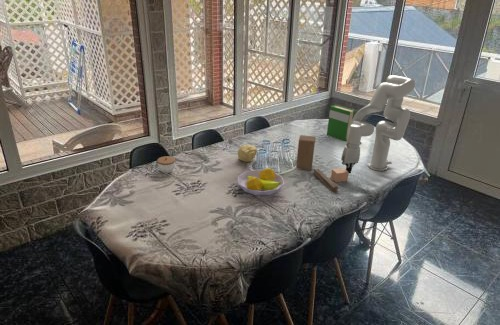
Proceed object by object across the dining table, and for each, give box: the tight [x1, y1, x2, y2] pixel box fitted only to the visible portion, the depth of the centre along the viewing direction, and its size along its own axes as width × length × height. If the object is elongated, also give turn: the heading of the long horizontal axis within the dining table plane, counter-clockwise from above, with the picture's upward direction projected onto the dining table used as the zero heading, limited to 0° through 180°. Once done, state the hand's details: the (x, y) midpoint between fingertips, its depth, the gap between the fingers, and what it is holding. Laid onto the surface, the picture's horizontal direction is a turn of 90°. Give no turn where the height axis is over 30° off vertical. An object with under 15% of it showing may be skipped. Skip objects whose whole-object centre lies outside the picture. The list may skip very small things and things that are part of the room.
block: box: [330, 167, 350, 183], centre depth 223 cm, size 8×6×6 cm
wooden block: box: [295, 134, 316, 171], centre depth 235 cm, size 10×10×20 cm
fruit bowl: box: [237, 167, 285, 196], centre depth 206 cm, size 28×27×11 cm
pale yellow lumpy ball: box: [237, 144, 258, 163], centre depth 243 cm, size 12×12×11 cm
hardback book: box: [326, 104, 356, 142], centre depth 287 cm, size 18×7×24 cm, turn 43°
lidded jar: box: [156, 155, 176, 174], centre depth 223 cm, size 11×11×9 cm
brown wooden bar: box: [313, 168, 339, 193], centre depth 220 cm, size 3×24×3 cm, turn 18°
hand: (348, 172), depth 224 cm, fingers closed
